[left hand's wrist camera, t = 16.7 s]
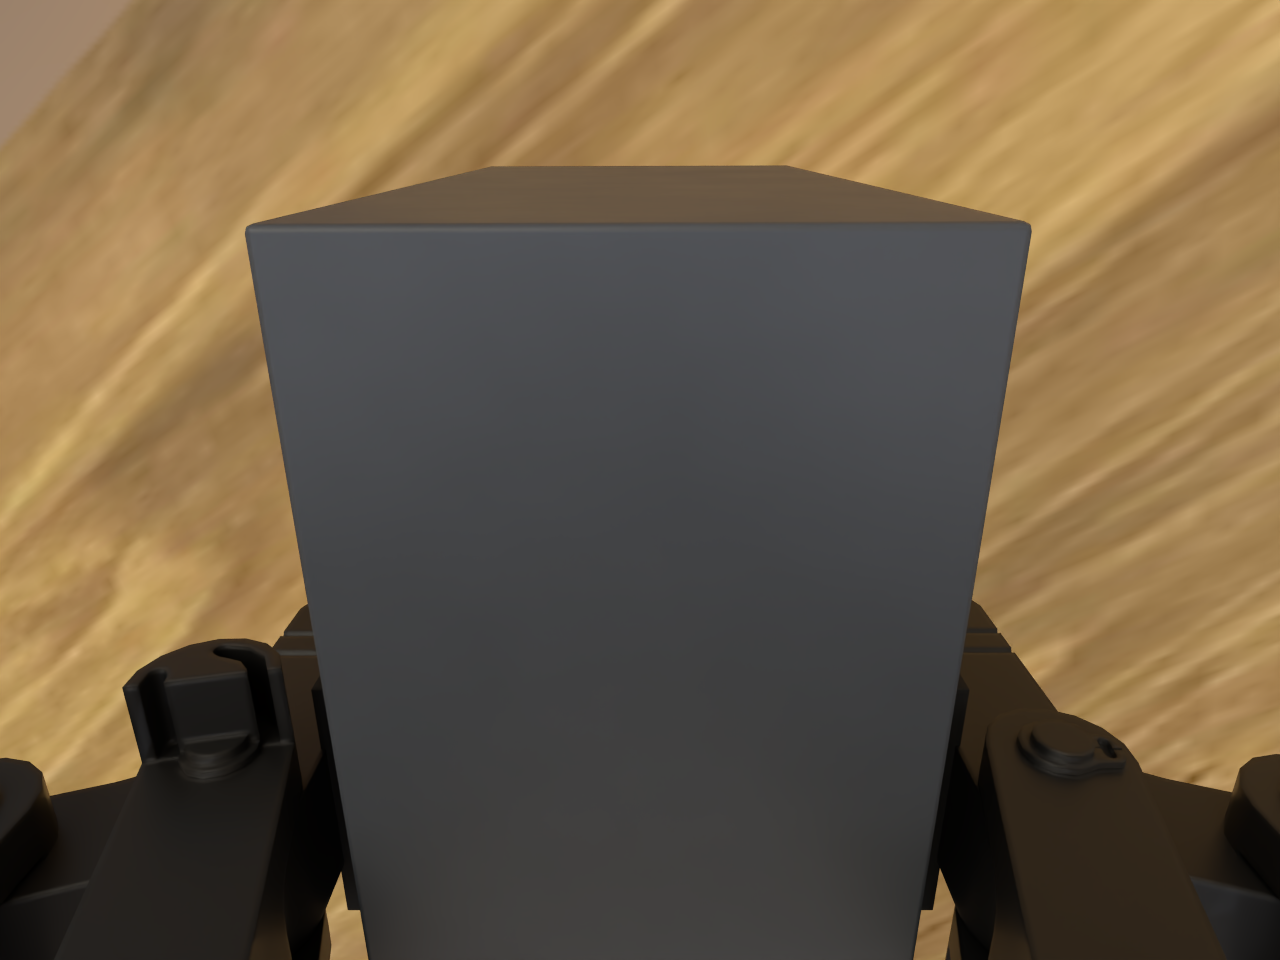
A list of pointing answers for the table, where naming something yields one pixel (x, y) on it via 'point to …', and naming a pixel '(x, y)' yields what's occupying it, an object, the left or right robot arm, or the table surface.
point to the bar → (639, 547)
